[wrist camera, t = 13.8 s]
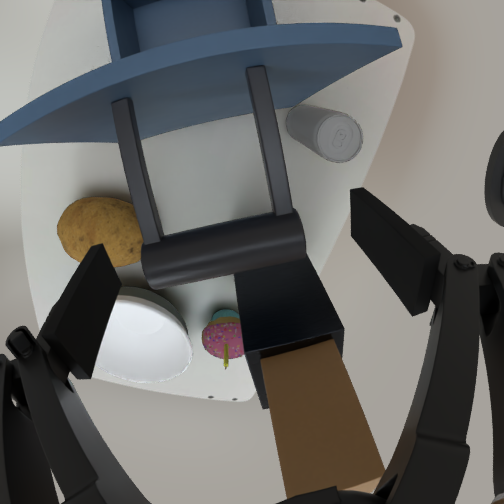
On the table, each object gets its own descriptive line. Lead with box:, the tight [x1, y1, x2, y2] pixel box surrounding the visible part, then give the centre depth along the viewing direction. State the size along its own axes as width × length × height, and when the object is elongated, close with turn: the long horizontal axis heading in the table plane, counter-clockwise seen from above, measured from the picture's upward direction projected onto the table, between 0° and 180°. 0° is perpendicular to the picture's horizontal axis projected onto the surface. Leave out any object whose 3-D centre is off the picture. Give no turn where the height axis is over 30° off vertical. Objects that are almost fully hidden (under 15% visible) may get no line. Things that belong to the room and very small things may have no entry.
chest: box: [102, 0, 277, 62], centre depth 23 cm, size 17×15×10 cm
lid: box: [0, 23, 402, 290], centre depth 16 cm, size 18×15×8 cm
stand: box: [234, 253, 344, 409], centre depth 34 cm, size 8×10×22 cm
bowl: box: [95, 287, 193, 383], centre depth 43 cm, size 19×19×8 cm
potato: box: [57, 197, 144, 267], centre depth 34 cm, size 10×13×9 cm
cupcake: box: [202, 309, 244, 369], centre depth 44 cm, size 9×8×12 cm
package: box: [260, 339, 385, 499], centre depth 19 cm, size 6×8×12 cm
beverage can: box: [286, 105, 363, 163], centre depth 29 cm, size 5×5×12 cm
